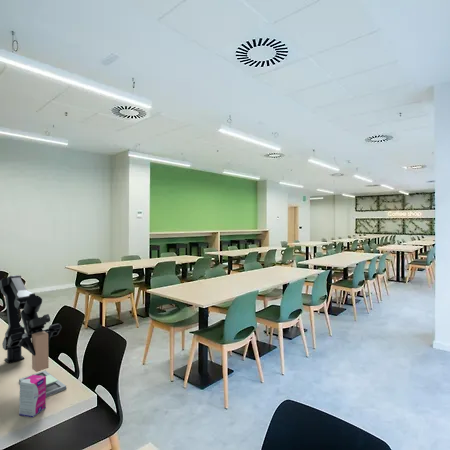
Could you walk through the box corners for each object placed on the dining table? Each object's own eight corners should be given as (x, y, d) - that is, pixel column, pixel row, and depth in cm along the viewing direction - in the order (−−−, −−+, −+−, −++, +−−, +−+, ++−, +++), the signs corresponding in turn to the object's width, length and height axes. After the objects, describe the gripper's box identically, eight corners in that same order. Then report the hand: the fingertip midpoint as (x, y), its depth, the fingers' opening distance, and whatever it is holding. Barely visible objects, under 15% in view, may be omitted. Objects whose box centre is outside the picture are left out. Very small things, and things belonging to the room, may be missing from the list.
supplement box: (33, 418, 106) (33, 384, 106) (18, 415, 107) (18, 382, 107) (46, 407, 112) (46, 375, 112) (32, 406, 113) (32, 374, 113)
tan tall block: (32, 368, 128) (31, 334, 128) (44, 364, 131) (43, 331, 131) (36, 371, 125) (36, 336, 125) (48, 367, 128) (48, 333, 128)
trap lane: (19, 382, 130) (19, 378, 130) (45, 373, 138) (45, 369, 138) (38, 399, 117) (38, 396, 117) (66, 388, 124) (66, 385, 124)
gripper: (9, 314, 123) (19, 349, 116) (59, 304, 138) (71, 335, 131) (3, 330, 128) (13, 365, 121) (52, 319, 143) (63, 349, 136)
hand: (41, 352), depth 127 cm, fingers closed on tan tall block, 4 cm apart
